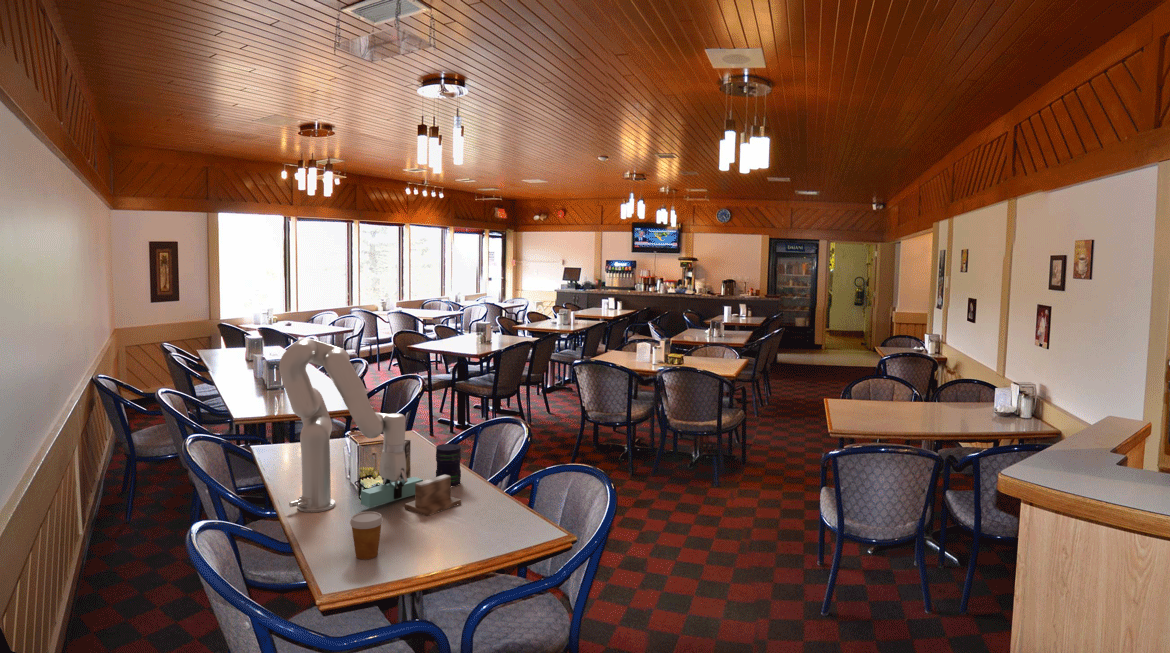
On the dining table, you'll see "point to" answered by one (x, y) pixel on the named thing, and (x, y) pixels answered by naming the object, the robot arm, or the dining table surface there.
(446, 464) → the storage jar
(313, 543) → the dining table surface
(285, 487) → the dining table surface
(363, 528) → the disposable coffee cup
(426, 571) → the dining table surface
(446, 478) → the walnut ridge stand
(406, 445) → the coffee box
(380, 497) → the teal bar
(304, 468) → the robot arm
